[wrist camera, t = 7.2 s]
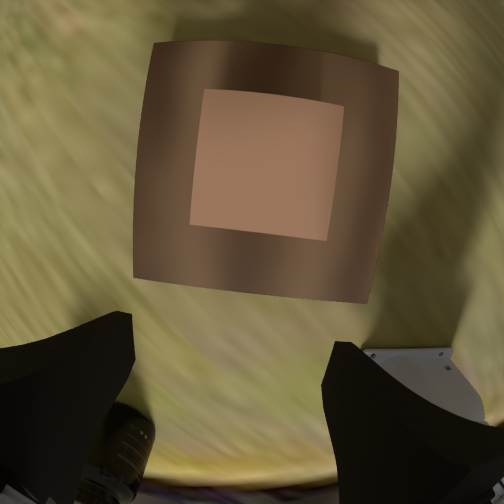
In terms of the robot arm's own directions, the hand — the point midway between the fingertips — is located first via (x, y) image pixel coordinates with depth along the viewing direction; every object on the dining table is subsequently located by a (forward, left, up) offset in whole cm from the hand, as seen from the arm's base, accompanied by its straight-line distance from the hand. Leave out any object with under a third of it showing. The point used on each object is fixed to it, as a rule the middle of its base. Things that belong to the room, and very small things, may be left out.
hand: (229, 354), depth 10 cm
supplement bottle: (+11, +19, -10) cm, 24 cm away
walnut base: (0, -6, -10) cm, 12 cm away
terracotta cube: (-1, -6, -7) cm, 9 cm away
